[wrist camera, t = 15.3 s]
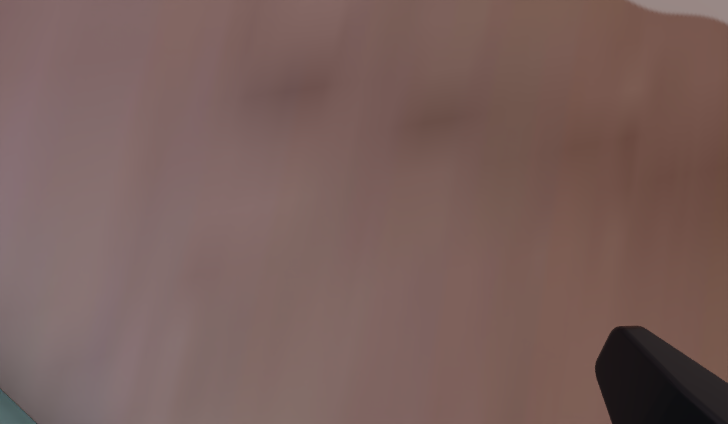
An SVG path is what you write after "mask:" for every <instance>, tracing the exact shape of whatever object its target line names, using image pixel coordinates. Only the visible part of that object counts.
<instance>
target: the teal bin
mask: <svg viewBox="0 0 728 424" xmlns="http://www.w3.org/2000/svg"><path fill="white" fill-rule="evenodd" d="M0 424H37V423H36V422H34V421H33V420H32V419H31V418H30V417H29V416H28V415H27V414H26V413H25V412H24V411H23V410H22V409H21V408H20V407H19V406H18V405H17V404H16V403H15V402H13V401H12V400H11V399H10V398H9V397H8V396H7V395H6V394H5V393H4V392H3V391H2V390H1V389H0Z"/></svg>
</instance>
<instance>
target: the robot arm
mask: <svg viewBox="0 0 728 424" xmlns="http://www.w3.org/2000/svg"><path fill="white" fill-rule="evenodd" d="M595 373H596V378H597V381H598V384H599V387H600V390H601V393H602V396H603V398H604V401H605V404H606V407H607V410H608V413H609V416H610V419H611V422H612V424H728V383H727V382H725V381H724V380H722V379H721V378H719V377H718V376H716V375H715V374H713V373H712V372H710V371H709V370H707V369H706V368H704V367H703V366H701V365H700V364H698V363H697V362H695V361H694V360H692V359H691V358H689V357H688V356H686V355H685V354H683V353H682V352H680V351H679V350H677V349H676V348H674V347H673V346H671V345H670V344H668V343H667V342H665V341H664V340H662V339H661V338H659V337H658V336H656V335H655V334H653V333H652V332H650V331H649V330H647V329H645V328H644V327H641V326H619V327H616V328H614V329H613V330H612V331H611V333H610V334H609V336H608V338H607V340H606V342H605V344H604V346H603V348H602V350H601V352H600V354H599V356H598V358H597V361H596V365H595Z"/></svg>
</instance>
